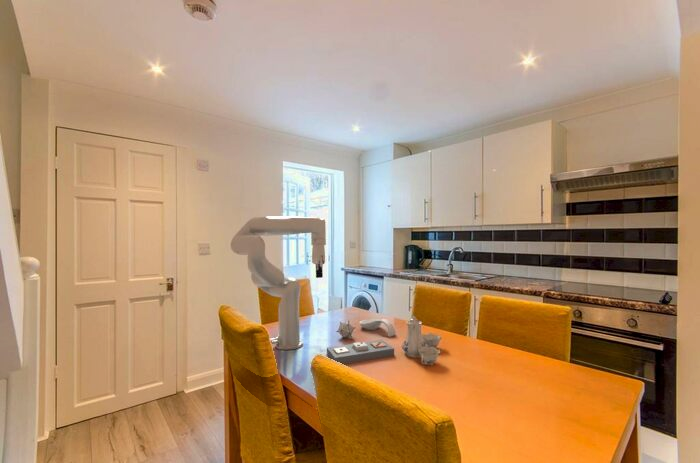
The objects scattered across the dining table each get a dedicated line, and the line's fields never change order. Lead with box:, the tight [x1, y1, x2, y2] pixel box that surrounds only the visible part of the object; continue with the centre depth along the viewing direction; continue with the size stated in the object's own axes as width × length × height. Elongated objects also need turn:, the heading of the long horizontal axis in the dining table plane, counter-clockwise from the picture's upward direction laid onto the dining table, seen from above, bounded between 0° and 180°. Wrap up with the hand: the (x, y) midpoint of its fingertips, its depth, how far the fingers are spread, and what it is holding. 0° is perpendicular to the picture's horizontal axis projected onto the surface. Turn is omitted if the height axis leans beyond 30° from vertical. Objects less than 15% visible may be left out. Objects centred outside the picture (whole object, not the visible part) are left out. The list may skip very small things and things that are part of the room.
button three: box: [371, 342, 386, 348], centre depth 140 cm, size 5×5×3 cm
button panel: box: [326, 339, 395, 365], centre depth 137 cm, size 26×12×3 cm, turn 110°
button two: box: [352, 341, 368, 351], centre depth 137 cm, size 5×5×3 cm
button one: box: [334, 347, 349, 354], centre depth 134 cm, size 5×5×3 cm
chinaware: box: [401, 315, 442, 366], centre depth 136 cm, size 28×17×17 cm, turn 168°
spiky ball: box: [335, 320, 355, 340], centre depth 160 cm, size 9×8×10 cm
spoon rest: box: [359, 318, 397, 337], centre depth 171 cm, size 24×12×7 cm, turn 36°
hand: (319, 277), depth 168 cm, fingers closed
